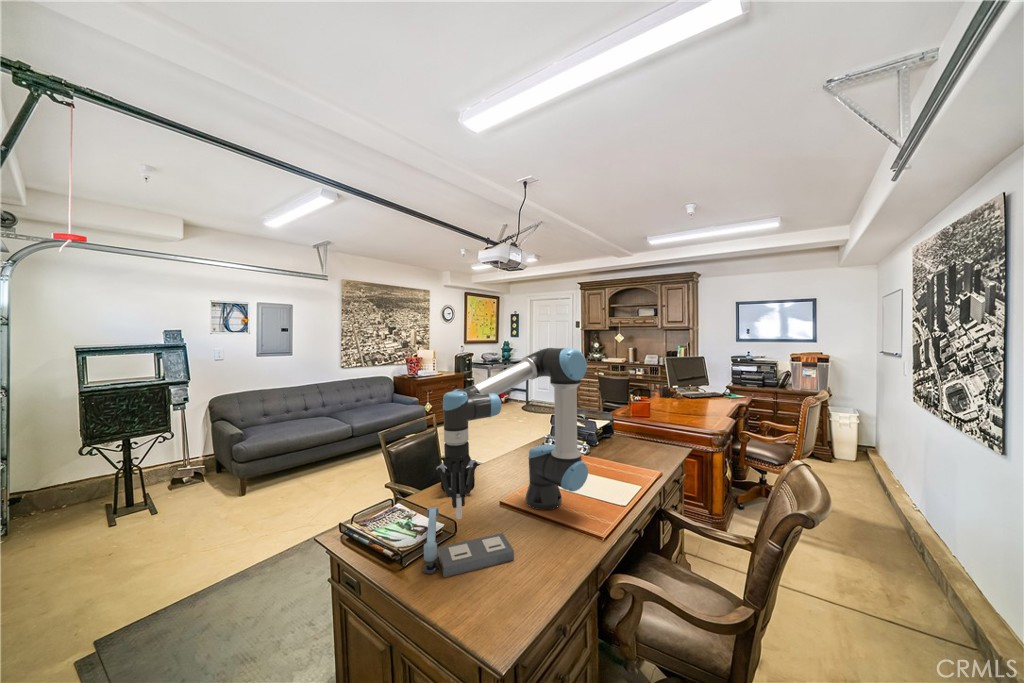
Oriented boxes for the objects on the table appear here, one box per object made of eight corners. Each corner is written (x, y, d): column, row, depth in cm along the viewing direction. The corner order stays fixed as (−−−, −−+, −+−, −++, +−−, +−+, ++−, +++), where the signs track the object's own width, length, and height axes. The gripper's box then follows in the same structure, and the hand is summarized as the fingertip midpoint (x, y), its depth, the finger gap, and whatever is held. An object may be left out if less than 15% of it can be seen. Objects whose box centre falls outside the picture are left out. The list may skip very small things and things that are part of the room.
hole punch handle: (437, 560, 109) (436, 548, 109) (423, 562, 108) (423, 549, 108) (438, 515, 136) (438, 505, 136) (427, 517, 135) (427, 507, 135)
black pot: (474, 498, 158) (473, 470, 157) (437, 499, 158) (436, 471, 157) (478, 482, 174) (477, 457, 173) (444, 483, 174) (444, 458, 174)
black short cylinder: (438, 562, 114) (437, 551, 114) (440, 572, 109) (440, 560, 109) (421, 566, 112) (421, 555, 112) (423, 576, 108) (423, 564, 108)
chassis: (503, 541, 125) (502, 531, 124) (514, 560, 114) (513, 549, 114) (438, 556, 117) (437, 546, 117) (443, 577, 107) (443, 566, 107)
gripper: (437, 448, 107) (439, 527, 108) (479, 442, 112) (482, 518, 112) (433, 441, 114) (436, 515, 115) (474, 436, 119) (476, 507, 119)
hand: (458, 516), depth 114 cm, fingers closed
